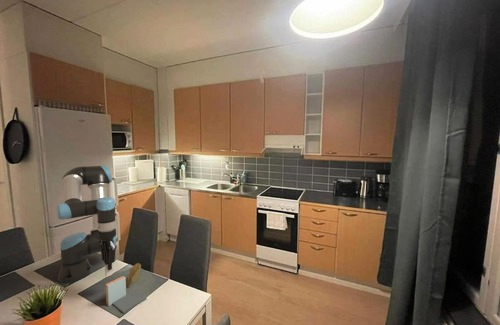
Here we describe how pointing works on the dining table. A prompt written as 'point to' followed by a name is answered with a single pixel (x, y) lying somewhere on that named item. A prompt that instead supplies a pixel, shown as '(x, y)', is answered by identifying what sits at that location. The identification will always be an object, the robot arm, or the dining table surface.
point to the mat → (129, 301)
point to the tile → (115, 290)
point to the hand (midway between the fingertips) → (108, 275)
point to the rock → (133, 275)
